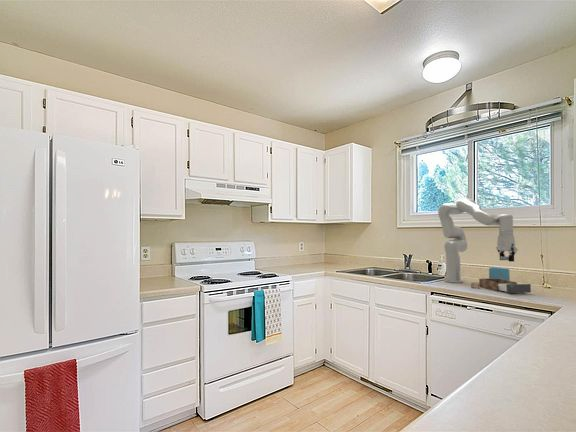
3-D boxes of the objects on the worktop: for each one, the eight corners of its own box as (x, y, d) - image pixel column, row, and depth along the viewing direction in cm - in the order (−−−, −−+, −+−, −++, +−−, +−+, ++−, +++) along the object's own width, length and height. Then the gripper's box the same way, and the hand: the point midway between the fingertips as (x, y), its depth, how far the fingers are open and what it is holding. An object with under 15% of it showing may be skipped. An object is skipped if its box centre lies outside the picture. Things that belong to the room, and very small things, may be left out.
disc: (497, 259, 203) (497, 256, 203) (507, 259, 204) (507, 256, 204) (506, 260, 196) (505, 257, 196) (515, 260, 197) (515, 257, 197)
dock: (517, 290, 200) (516, 282, 200) (497, 291, 199) (496, 282, 199) (498, 286, 216) (497, 278, 216) (479, 286, 215) (479, 278, 215)
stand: (469, 287, 212) (469, 282, 212) (476, 287, 213) (475, 282, 213) (474, 288, 208) (474, 283, 208) (481, 288, 208) (480, 283, 208)
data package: (509, 284, 222) (509, 268, 222) (509, 285, 218) (508, 268, 219) (489, 283, 229) (489, 266, 230) (489, 283, 226) (488, 267, 226)
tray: (530, 292, 191) (530, 284, 191) (508, 292, 189) (508, 284, 189) (509, 287, 207) (509, 279, 207) (488, 287, 205) (488, 280, 206)
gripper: (490, 233, 209) (491, 259, 208) (511, 233, 192) (512, 262, 191) (500, 233, 210) (501, 259, 209) (522, 233, 192) (523, 262, 192)
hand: (506, 260), depth 200 cm, fingers closed on disc, 6 cm apart
